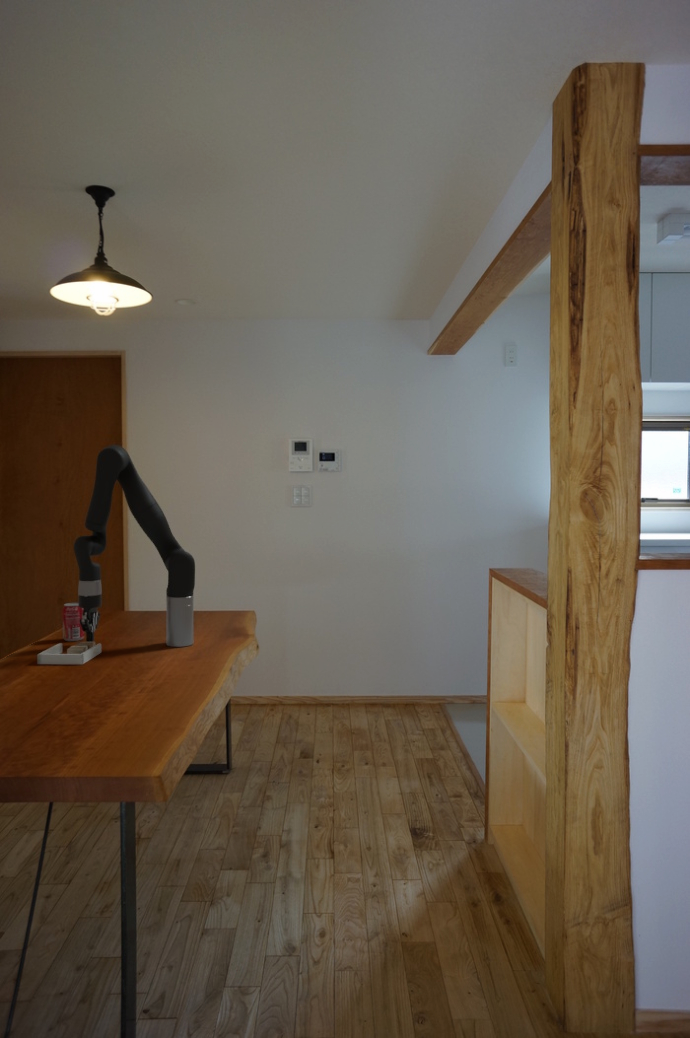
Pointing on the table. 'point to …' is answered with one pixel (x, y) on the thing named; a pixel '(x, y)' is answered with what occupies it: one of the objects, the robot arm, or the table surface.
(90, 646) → the beige flat square block
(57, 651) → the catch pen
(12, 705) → the table surface
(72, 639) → the soda can
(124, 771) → the table surface
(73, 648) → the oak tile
